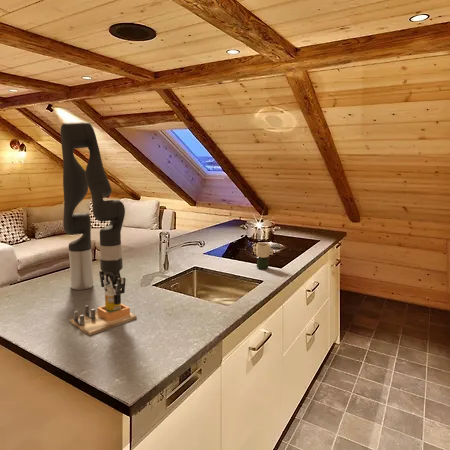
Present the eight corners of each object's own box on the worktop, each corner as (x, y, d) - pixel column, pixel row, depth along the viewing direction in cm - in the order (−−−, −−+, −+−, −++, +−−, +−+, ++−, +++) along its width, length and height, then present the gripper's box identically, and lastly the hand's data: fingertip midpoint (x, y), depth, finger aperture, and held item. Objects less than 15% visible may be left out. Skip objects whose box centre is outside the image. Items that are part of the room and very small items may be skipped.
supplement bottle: (118, 313, 130) (117, 288, 129) (103, 313, 130) (102, 288, 129) (122, 307, 136) (121, 283, 134) (108, 307, 136) (107, 282, 134)
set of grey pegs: (71, 319, 129) (70, 310, 128) (88, 314, 133) (87, 305, 132) (81, 326, 124) (80, 316, 123) (98, 320, 128) (98, 310, 127)
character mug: (274, 267, 195) (275, 244, 193) (270, 271, 189) (270, 246, 187) (255, 265, 200) (256, 241, 198) (250, 268, 194) (251, 244, 191)
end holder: (97, 314, 133) (97, 307, 133) (117, 307, 139) (117, 301, 138) (109, 321, 128) (109, 314, 127) (129, 314, 133) (129, 307, 133)
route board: (70, 322, 129) (69, 319, 128) (115, 307, 142) (115, 304, 142) (89, 335, 119) (89, 332, 119) (136, 318, 132) (136, 315, 132)
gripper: (91, 254, 131) (93, 299, 134) (112, 262, 122) (114, 310, 125) (110, 250, 137) (111, 293, 140) (131, 258, 127) (133, 304, 130)
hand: (113, 301), depth 132 cm, fingers closed on supplement bottle, 5 cm apart
